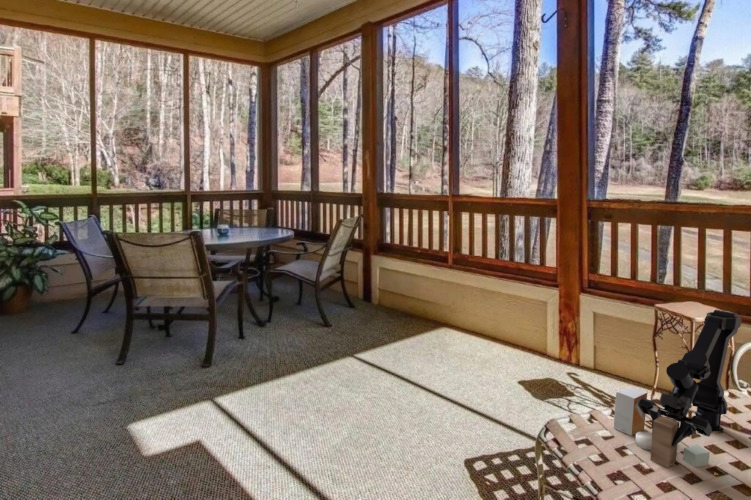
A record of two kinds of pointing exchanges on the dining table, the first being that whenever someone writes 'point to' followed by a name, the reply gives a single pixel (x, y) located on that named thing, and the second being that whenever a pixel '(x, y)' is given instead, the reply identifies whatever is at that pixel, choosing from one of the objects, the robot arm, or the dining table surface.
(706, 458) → the sage block
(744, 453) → the dining table surface
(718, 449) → the dining table surface
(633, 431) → the small box
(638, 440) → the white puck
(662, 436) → the walnut block
